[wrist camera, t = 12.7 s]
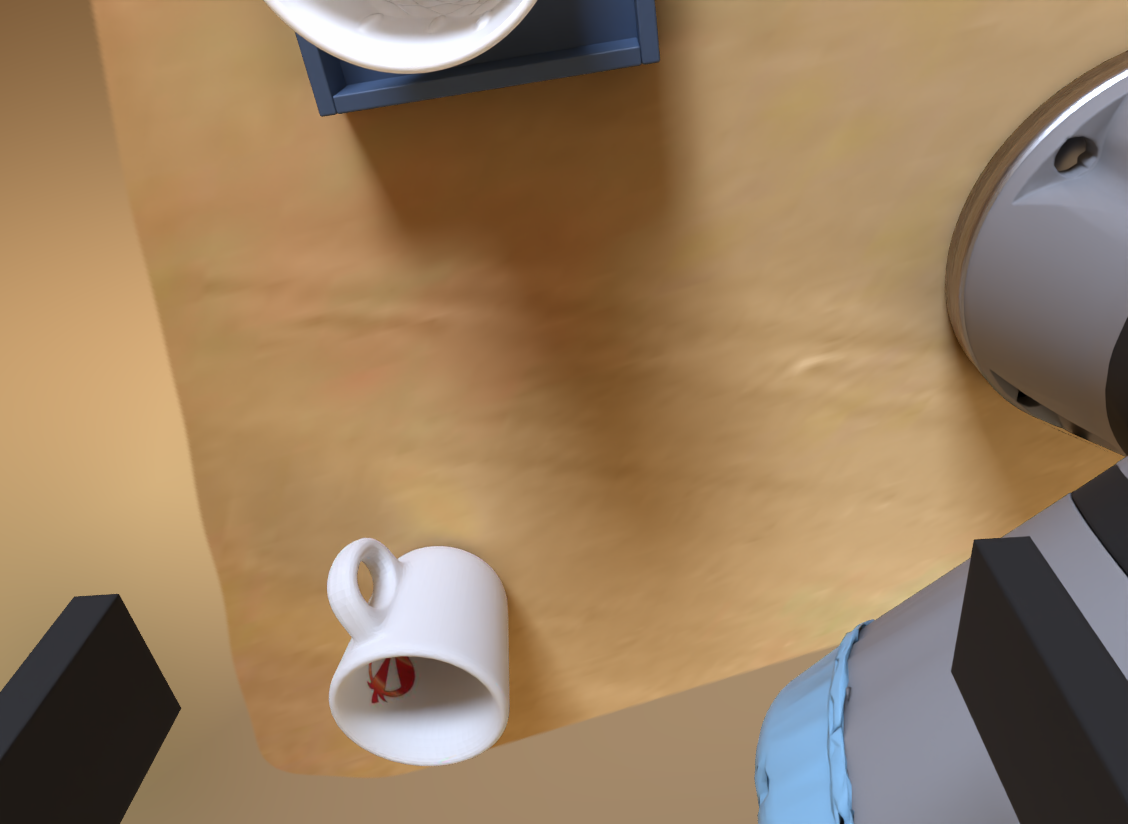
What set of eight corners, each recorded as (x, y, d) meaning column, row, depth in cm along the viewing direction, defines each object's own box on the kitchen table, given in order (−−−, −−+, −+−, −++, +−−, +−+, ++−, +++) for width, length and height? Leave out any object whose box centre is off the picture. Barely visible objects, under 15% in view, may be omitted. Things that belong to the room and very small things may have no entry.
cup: (302, 524, 41) (244, 649, 34) (431, 460, 39) (397, 580, 32) (428, 655, 46) (399, 787, 39) (550, 605, 43) (542, 736, 37)
